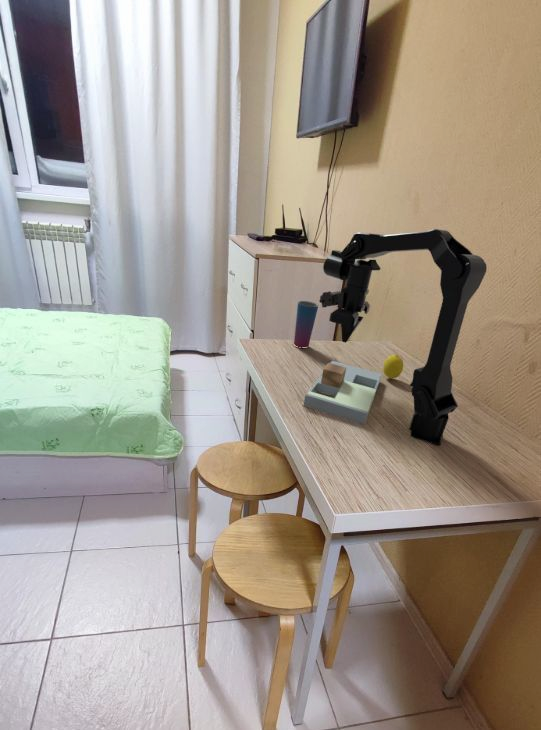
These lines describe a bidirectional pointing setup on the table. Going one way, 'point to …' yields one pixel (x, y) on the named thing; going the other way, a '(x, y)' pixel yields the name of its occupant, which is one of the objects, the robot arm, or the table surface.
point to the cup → (304, 322)
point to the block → (333, 375)
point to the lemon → (393, 366)
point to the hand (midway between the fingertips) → (344, 341)
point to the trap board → (346, 394)
